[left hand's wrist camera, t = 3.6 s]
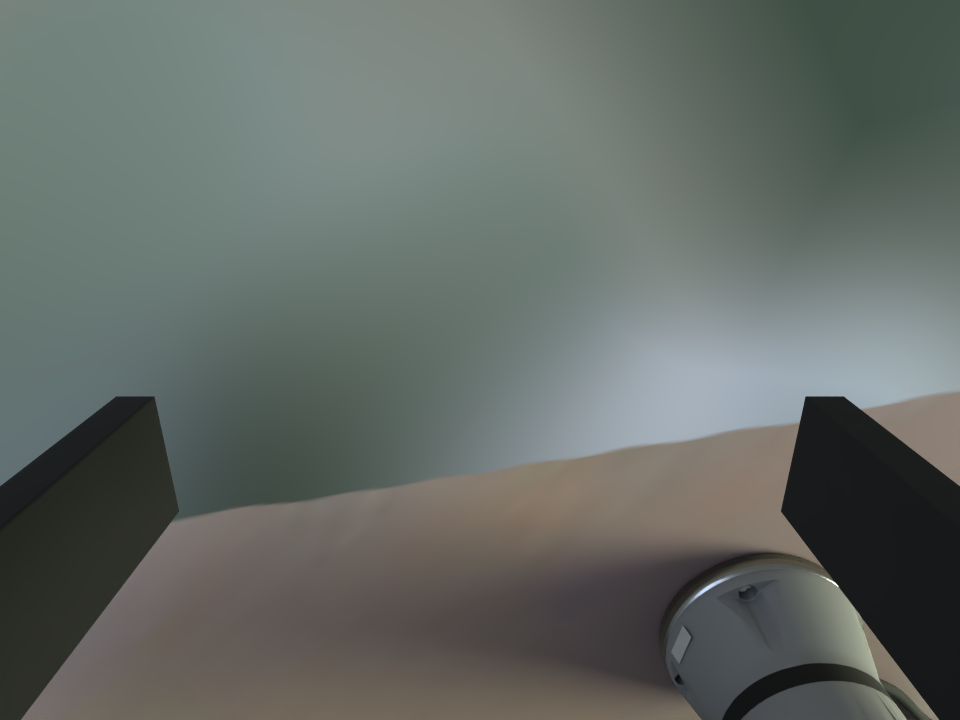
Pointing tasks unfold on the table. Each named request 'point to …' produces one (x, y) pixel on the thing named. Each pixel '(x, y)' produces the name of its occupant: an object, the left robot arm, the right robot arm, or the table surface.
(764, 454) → the table surface
